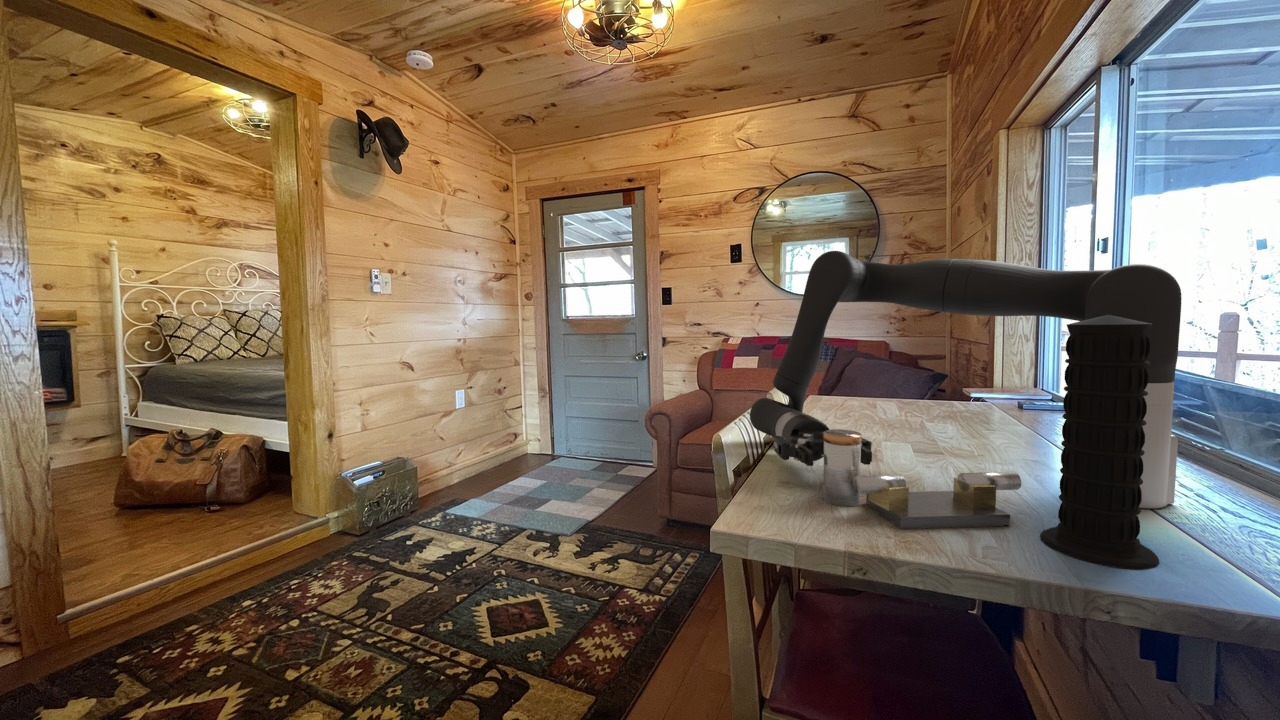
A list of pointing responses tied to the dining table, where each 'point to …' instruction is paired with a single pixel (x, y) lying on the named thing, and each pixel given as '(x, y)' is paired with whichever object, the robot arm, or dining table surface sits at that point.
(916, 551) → the dining table surface
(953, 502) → the metal mounting fixture
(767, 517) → the dining table surface
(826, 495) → the grey cylinder
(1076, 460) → the handle grip
